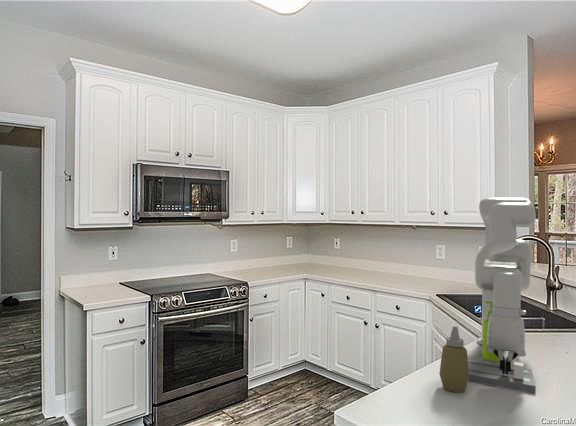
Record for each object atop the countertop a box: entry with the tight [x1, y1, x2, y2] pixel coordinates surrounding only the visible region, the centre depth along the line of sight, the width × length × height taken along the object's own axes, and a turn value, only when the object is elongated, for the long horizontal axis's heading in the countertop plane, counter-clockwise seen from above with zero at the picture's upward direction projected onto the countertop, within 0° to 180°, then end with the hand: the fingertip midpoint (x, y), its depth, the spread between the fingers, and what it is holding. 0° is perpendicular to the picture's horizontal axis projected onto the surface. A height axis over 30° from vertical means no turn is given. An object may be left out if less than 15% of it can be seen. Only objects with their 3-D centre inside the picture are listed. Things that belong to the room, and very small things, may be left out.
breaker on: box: [511, 357, 520, 370], centre depth 133 cm, size 3×2×4 cm
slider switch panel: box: [468, 358, 537, 394], centre depth 132 cm, size 16×22×2 cm
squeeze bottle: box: [439, 325, 470, 393], centre depth 122 cm, size 8×8×18 cm
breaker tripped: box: [514, 361, 525, 380], centre depth 126 cm, size 3×2×4 cm
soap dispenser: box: [482, 301, 500, 362], centre depth 151 cm, size 6×7×20 cm
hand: (505, 372), depth 127 cm, fingers closed
